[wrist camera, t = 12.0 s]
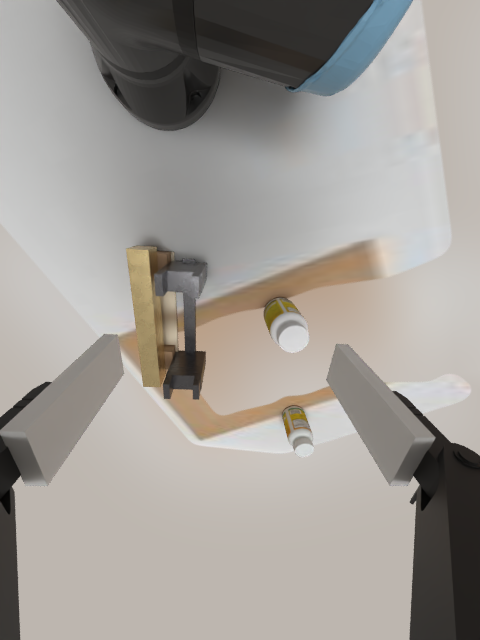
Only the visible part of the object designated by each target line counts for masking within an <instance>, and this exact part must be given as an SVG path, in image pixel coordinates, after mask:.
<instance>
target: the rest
mask: <svg viewBox="0 0 480 640" xmlns="http://www.w3.org/2000/svg"><path fill="white" fill-rule="evenodd" d="M157 259H158V270H159V269H161V268H162V267H164V266H165V265H166V264H168V263H169V262H170V261H175V260H174V252H169V251H157ZM160 300H161V313H162V327H163V341H164V354H165V368H166V369H169V366H170V364H171V362H172V359H173V357H174V354H175V352H178V329H177V306H176V292H171V291H167V293H166V294H165V295H164V296H160Z"/></svg>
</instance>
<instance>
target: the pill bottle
mask: <svg viewBox="0 0 480 640" xmlns="http://www.w3.org/2000/svg"><path fill="white" fill-rule="evenodd" d="M264 319H265V322H266V324H267V327H268V330H269V332H270V335H271V338H272V339H273V341H274V342H275V343H276V344H278V345H279V346H280V347H281V348H282V349H283V350H284V351H286V352H290V353H291V352H292V353H294V352H298V351H300V350H302V349H304V348H305V347H306V346H307V344H308V342H309V333H308V325H307V322H306V320H305V318H304V317H303V316H302V315H301V313H300V312H299V311H298V309H297V308H296V307H295V305H294V304H293V303H292V302H291V301H290V300H288V299H286V298H276V299H273V300H271V301H270V302H269V303H268V304H267V305H266V307H265V309H264Z"/></svg>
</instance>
